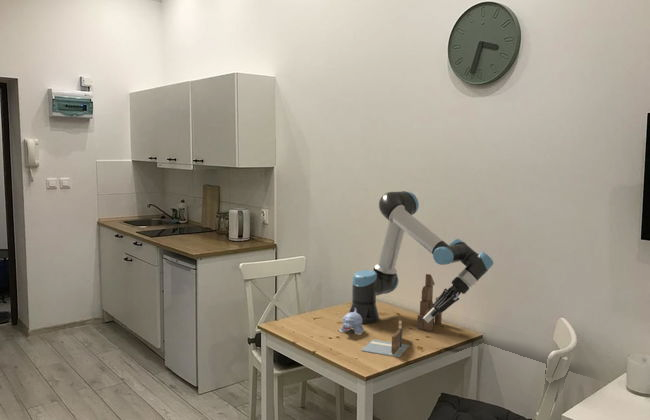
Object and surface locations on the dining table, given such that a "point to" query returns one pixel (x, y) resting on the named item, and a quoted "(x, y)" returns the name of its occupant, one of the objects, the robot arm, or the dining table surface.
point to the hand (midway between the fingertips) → (425, 320)
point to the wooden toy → (427, 306)
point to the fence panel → (400, 324)
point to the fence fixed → (396, 341)
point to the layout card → (383, 348)
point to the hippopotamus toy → (352, 323)
